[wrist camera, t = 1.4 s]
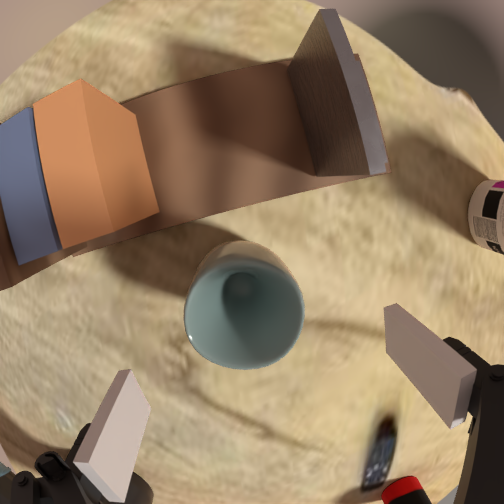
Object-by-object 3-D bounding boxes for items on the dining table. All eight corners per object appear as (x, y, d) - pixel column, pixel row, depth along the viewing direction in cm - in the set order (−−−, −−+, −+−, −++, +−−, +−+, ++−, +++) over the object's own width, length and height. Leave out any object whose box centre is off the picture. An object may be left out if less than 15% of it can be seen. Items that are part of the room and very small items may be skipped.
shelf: (78, 254, 27) (-4, 300, 14) (50, 140, 25) (-40, 126, 12) (385, 172, 28) (478, 172, 15) (353, 57, 25) (422, -3, 12)
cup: (272, 318, 30) (289, 377, 20) (192, 305, 29) (176, 361, 19) (290, 241, 28) (320, 271, 19) (205, 225, 28) (191, 248, 18)
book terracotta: (123, 223, 26) (63, 249, 15) (100, 128, 24) (33, 104, 13) (159, 212, 26) (113, 232, 15) (135, 114, 24) (80, 78, 13)
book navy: (88, 235, 26) (18, 265, 15) (65, 143, 24) (-10, 131, 13) (119, 224, 26) (57, 251, 15) (96, 129, 24) (28, 107, 13)
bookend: (316, 177, 26) (370, 175, 15) (286, 69, 24) (319, 9, 13) (385, 162, 26) (462, 157, 15) (357, 62, 24) (416, 12, 13)
